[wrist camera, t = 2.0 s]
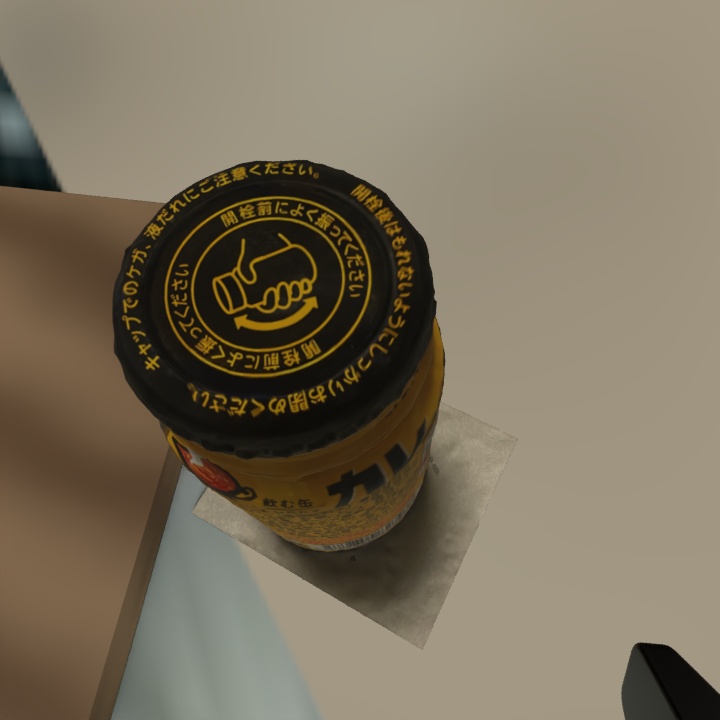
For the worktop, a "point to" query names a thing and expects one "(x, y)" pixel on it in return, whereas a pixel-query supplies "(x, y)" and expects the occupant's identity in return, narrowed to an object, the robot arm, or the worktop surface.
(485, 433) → the yellow black cylinder
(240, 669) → the worktop surface
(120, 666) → the walnut board
